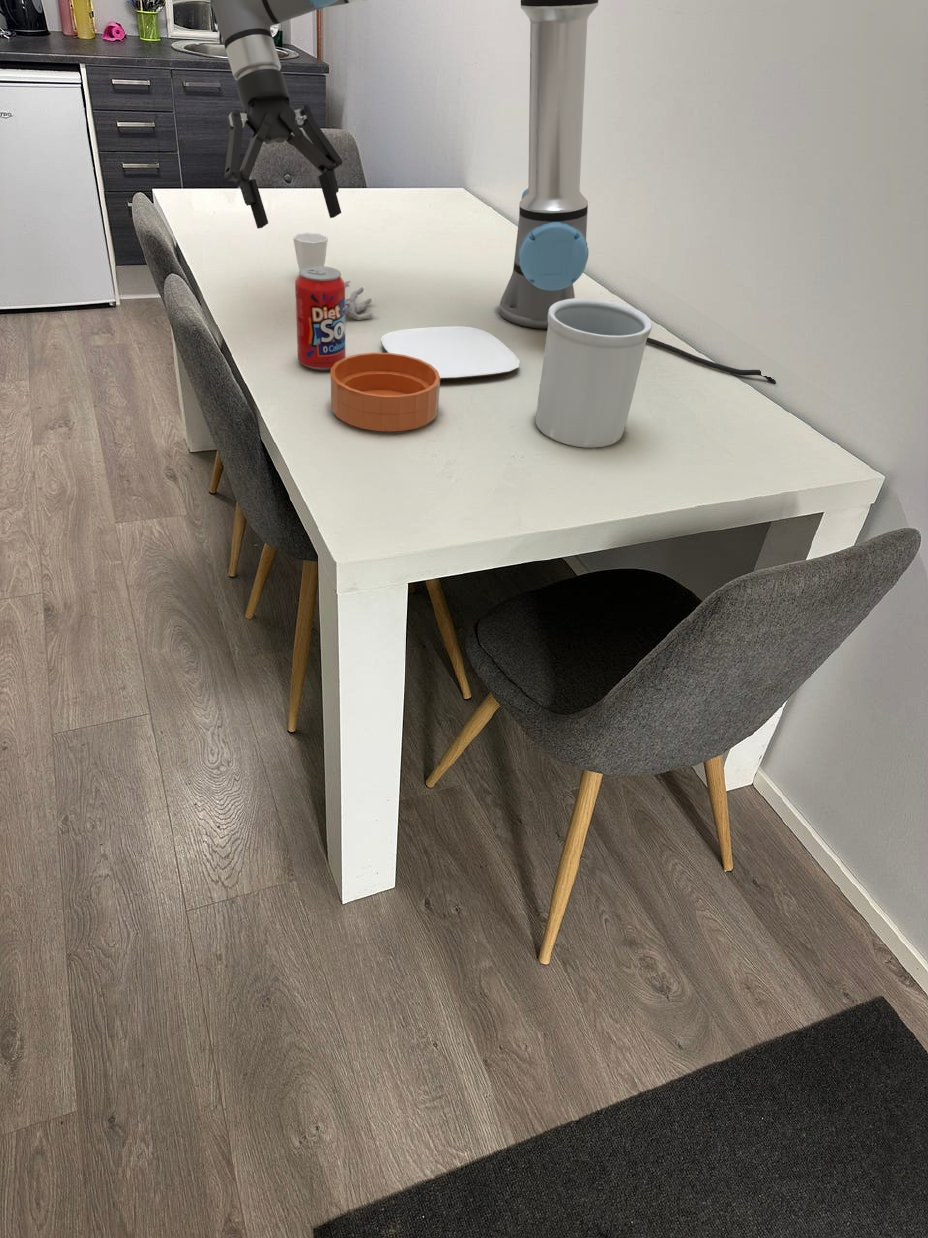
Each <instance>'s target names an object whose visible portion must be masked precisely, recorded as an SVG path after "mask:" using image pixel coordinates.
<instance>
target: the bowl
mask: <svg viewBox="0 0 928 1238" xmlns="http://www.w3.org/2000/svg"><path fill="white" fill-rule="evenodd" d="M440 389H441V379H440V376H439V373H438V371H437V370H436V369H435V368H434V367H433V366H432V365H430V364H428V363H426V362H424V361H422V360H420V359H417V358H413V357H410V356H406V355H401V354H394V353H388V352H365V353H357V354H353V355H350V356H345V358H343V359H341V360H340V361H338V362H336V363H335V364H334V365H333V367H332V368H331V370H330V409H331V411H332V413H333V414H334V415H335V416H336V418H338V419H339V420H341V421H343V422H345V423H346V424H347V425H351V426H354V427H357V428H360V429H363V430H369V431H375V432H401V431H402V432H404V431H410V430H416V429H418V428H421V427H425V426H427V425H428V424H429V423H431V422H432V421H433V420H435V419H436V417H437V415H438V412H439V402H440V401H439V400H440Z"/></svg>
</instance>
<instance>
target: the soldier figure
mask: <svg viewBox="0 0 928 1238" xmlns="http://www.w3.org/2000/svg"><path fill="white" fill-rule="evenodd" d="M344 282H345V290H346V288H347V287H350V285H349V284H350V283H351V281H350V280H347V281H344ZM363 292H364V287H360V288H359V289H357V290H354V291H353V292H352V293H351V294H350V296H349V298H345V315H347V316H349V317H350V318H352V319H354V320H355V321H362V320H363V321H364V320H367V319H371V318H372V317H375V313H373V312H370V313H368V314H362V315H361V314H357V313H359V312H362V311H363V310H364V309H367V307H368V305H369V304H371V303H372V300H373V299H372V298H368V299H366V300H363V301H361V302H360V303H357V304H356V300H357V299H358V296H359V295H361V294H362V293H363Z"/></svg>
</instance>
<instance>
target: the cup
mask: <svg viewBox="0 0 928 1238" xmlns="http://www.w3.org/2000/svg"><path fill="white" fill-rule="evenodd" d="M292 239H293V244H294V250H295V255H296V262H297V265H298V269H299V270H300V269H302V268H305V267H309V266H325V263H326V257H327V250H328V249H327V247H328V241H329V237H327V236H325V235H323V234H321V233H316V232H301V233H296V234H295V235H294V236H293V237H292Z"/></svg>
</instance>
